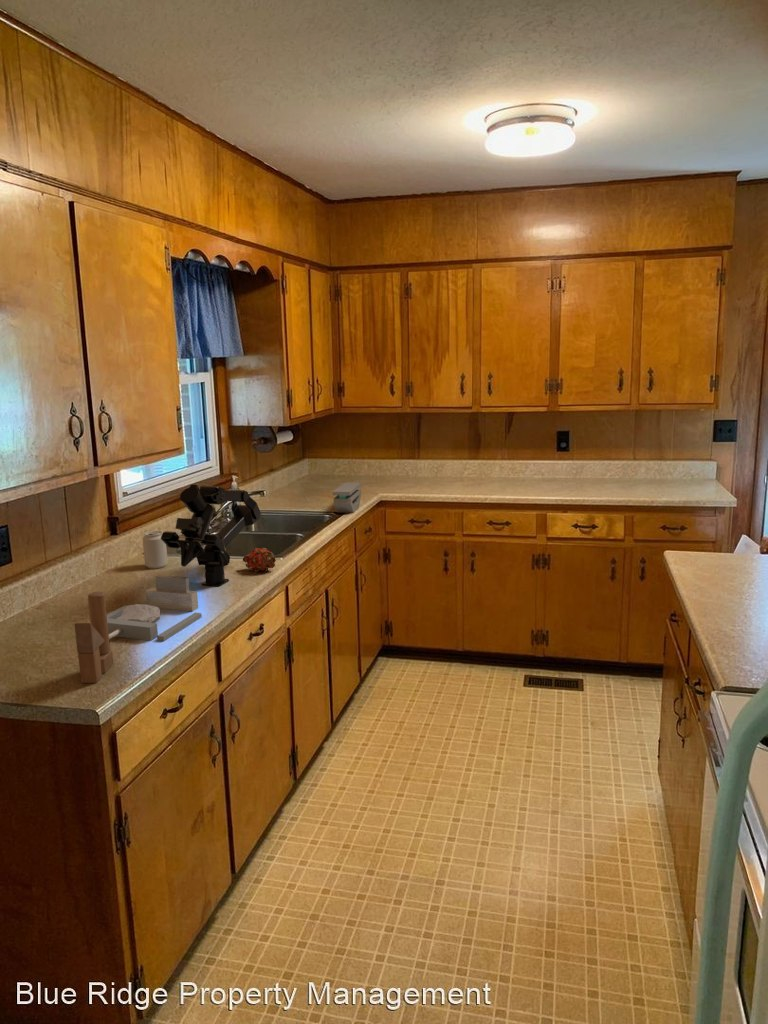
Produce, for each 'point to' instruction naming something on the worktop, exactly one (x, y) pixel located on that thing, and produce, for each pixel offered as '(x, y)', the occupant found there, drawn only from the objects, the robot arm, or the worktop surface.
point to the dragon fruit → (260, 560)
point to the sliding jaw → (172, 594)
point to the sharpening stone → (347, 497)
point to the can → (154, 550)
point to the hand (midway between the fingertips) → (182, 565)
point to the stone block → (141, 613)
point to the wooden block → (94, 641)
